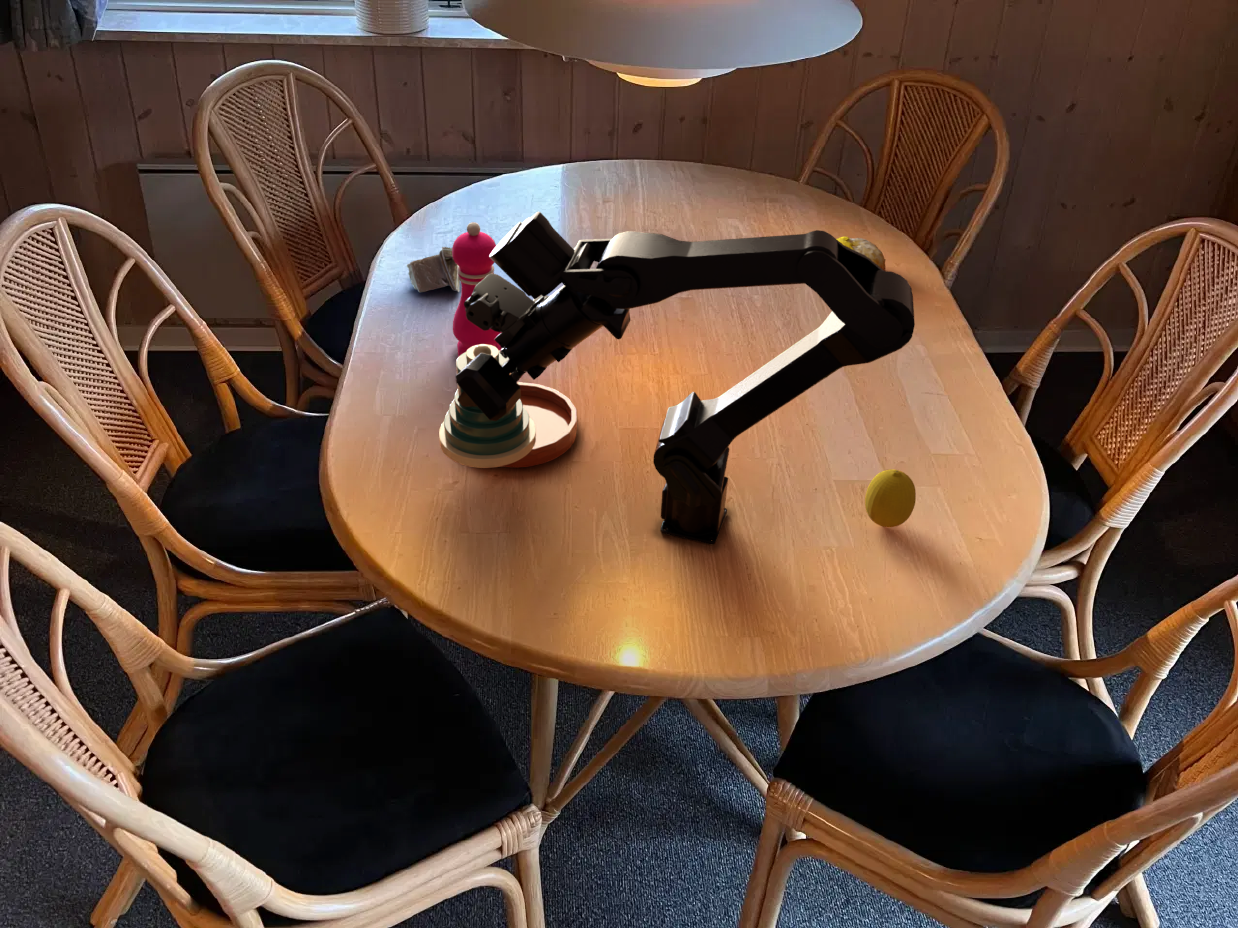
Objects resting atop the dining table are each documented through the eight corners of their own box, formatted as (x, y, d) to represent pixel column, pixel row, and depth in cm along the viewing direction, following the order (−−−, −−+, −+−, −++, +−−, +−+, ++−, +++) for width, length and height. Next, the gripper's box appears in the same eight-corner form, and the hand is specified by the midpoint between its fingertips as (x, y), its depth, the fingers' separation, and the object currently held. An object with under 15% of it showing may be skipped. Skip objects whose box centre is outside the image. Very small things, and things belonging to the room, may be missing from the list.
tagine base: (592, 411, 139) (593, 394, 137) (551, 479, 127) (551, 461, 125) (485, 389, 142) (484, 373, 141) (435, 453, 130) (433, 436, 129)
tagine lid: (549, 422, 126) (547, 329, 118) (515, 475, 117) (511, 379, 109) (462, 405, 128) (455, 314, 121) (423, 457, 119) (412, 361, 112)
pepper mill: (480, 336, 154) (473, 207, 142) (516, 353, 150) (512, 222, 138) (443, 355, 149) (433, 223, 137) (479, 373, 146) (472, 239, 134)
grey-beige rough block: (416, 263, 172) (392, 238, 161) (457, 251, 172) (436, 225, 160) (429, 317, 171) (406, 296, 159) (470, 305, 170) (451, 283, 159)
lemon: (877, 546, 119) (890, 491, 114) (850, 517, 123) (862, 462, 118) (917, 534, 121) (932, 479, 116) (889, 506, 125) (902, 452, 120)
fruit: (881, 296, 167) (875, 250, 163) (816, 301, 172) (809, 256, 168) (892, 266, 175) (886, 221, 171) (830, 271, 180) (823, 228, 176)
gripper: (548, 227, 115) (465, 298, 124) (467, 301, 101) (380, 374, 110) (614, 305, 117) (527, 369, 127) (543, 388, 103) (452, 453, 113)
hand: (474, 388), depth 119 cm, fingers closed on tagine lid, 6 cm apart
